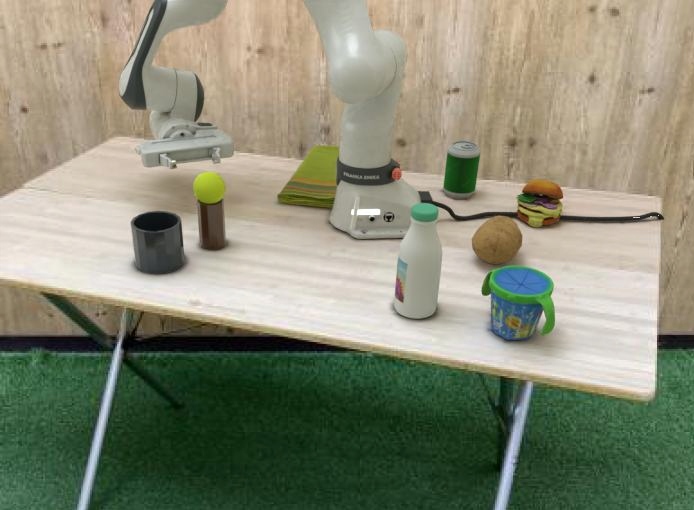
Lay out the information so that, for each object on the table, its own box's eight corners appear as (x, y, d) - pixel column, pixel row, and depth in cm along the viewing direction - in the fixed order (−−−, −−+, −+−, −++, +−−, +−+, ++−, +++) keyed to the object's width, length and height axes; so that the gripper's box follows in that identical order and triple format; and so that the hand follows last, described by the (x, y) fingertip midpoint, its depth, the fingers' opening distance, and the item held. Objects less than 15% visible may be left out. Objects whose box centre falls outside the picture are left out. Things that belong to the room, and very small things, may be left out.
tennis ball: (229, 197, 161) (227, 167, 158) (222, 210, 156) (221, 179, 152) (198, 195, 162) (196, 165, 158) (191, 208, 156) (188, 178, 153)
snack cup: (565, 347, 134) (577, 295, 128) (514, 361, 130) (524, 308, 124) (510, 303, 145) (519, 254, 140) (462, 315, 142) (469, 265, 136)
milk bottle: (441, 303, 145) (453, 203, 134) (428, 324, 139) (440, 220, 128) (401, 294, 148) (410, 195, 137) (387, 313, 142) (395, 212, 131)
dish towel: (276, 203, 181) (276, 190, 179) (312, 150, 210) (312, 138, 208) (341, 210, 178) (342, 197, 176) (368, 156, 207) (369, 144, 205)
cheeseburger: (509, 224, 173) (518, 178, 170) (516, 216, 183) (523, 173, 179) (557, 231, 170) (566, 185, 166) (560, 223, 179) (569, 179, 176)
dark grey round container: (189, 252, 161) (186, 212, 156) (177, 275, 153) (173, 233, 148) (143, 249, 162) (139, 209, 157) (129, 272, 154) (124, 230, 149)
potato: (522, 247, 164) (529, 212, 160) (514, 278, 153) (521, 241, 149) (476, 239, 167) (481, 205, 163) (464, 269, 156) (469, 233, 151)
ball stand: (227, 239, 166) (225, 195, 160) (222, 251, 161) (220, 206, 156) (203, 237, 166) (200, 193, 161) (197, 249, 162) (194, 204, 156)
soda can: (476, 200, 184) (483, 151, 177) (444, 200, 184) (450, 150, 177) (471, 187, 190) (478, 139, 184) (440, 187, 190) (446, 139, 184)
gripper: (131, 132, 171) (144, 154, 160) (222, 122, 177) (240, 142, 166) (134, 160, 174) (147, 183, 163) (223, 149, 180) (241, 171, 170)
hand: (195, 162), depth 165 cm, fingers open, 8 cm apart
